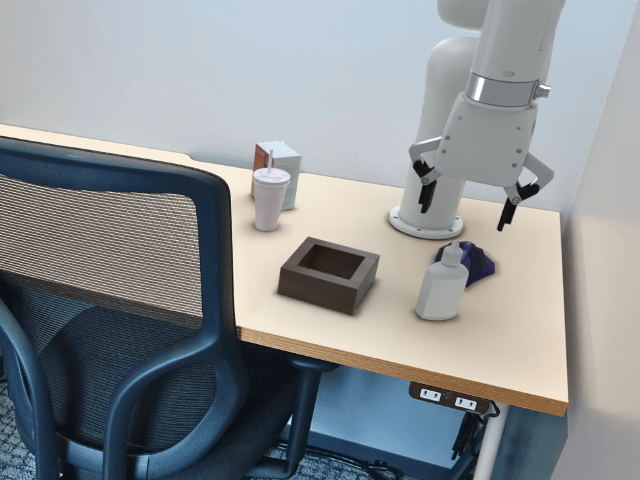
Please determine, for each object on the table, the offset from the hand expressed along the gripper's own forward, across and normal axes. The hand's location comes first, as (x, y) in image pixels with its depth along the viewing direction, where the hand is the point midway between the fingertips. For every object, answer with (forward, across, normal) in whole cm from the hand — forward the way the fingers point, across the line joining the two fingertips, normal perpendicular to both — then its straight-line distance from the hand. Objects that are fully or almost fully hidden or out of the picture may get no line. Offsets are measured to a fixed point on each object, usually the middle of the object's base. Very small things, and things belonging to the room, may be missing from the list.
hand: (462, 218), depth 92 cm
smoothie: (+16, +32, -12) cm, 38 cm away
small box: (+16, +35, -22) cm, 44 cm away
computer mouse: (+16, -1, -15) cm, 22 cm away
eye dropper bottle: (+15, 0, +1) cm, 15 cm away
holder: (+15, +16, +2) cm, 22 cm away
